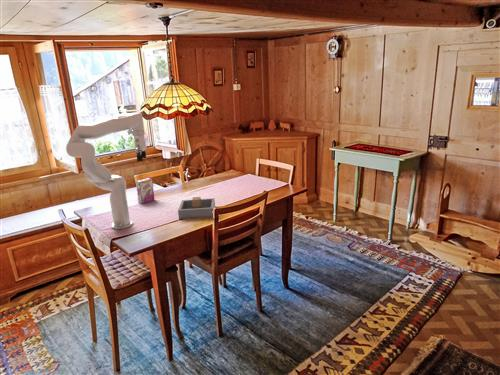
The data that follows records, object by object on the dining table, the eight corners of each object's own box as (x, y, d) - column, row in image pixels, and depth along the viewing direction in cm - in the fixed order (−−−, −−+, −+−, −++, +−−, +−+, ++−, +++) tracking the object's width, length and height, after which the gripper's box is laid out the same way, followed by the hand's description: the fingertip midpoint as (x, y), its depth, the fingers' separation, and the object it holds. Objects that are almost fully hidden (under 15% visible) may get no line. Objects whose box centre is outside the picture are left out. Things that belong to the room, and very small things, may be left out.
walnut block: (201, 212, 234) (199, 199, 231) (193, 212, 234) (192, 199, 231) (201, 209, 239) (200, 196, 236) (194, 210, 239) (192, 197, 236)
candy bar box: (142, 204, 259) (139, 182, 255) (138, 202, 262) (135, 181, 258) (155, 199, 267) (152, 178, 263) (151, 198, 271) (148, 177, 266)
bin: (213, 217, 228) (213, 208, 226) (178, 219, 227) (177, 210, 225) (215, 206, 247) (214, 198, 245) (182, 208, 246) (182, 200, 244)
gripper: (141, 134, 218) (144, 162, 223) (147, 130, 234) (150, 156, 239) (128, 135, 218) (132, 162, 222) (135, 131, 234) (139, 157, 239)
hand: (141, 159), depth 231 cm, fingers open, 9 cm apart
